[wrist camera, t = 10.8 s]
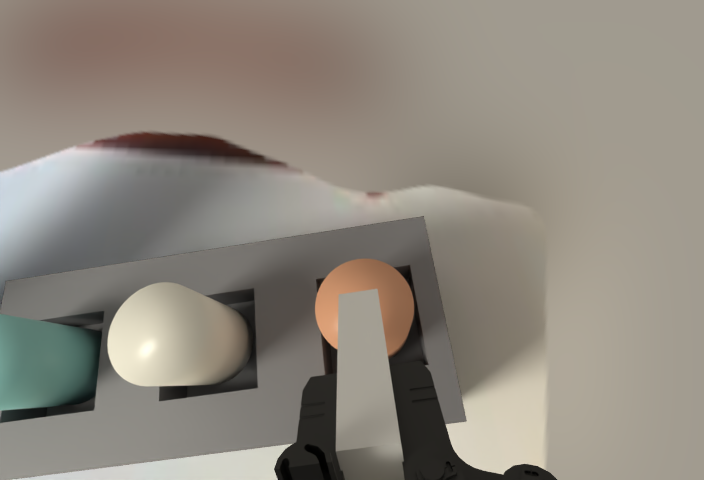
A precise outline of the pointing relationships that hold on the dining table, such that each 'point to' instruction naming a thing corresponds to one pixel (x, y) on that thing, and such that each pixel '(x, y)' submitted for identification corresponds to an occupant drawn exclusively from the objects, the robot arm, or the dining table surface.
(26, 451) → the button console
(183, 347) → the cream button
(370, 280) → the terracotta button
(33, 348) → the teal button
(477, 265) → the dining table surface
